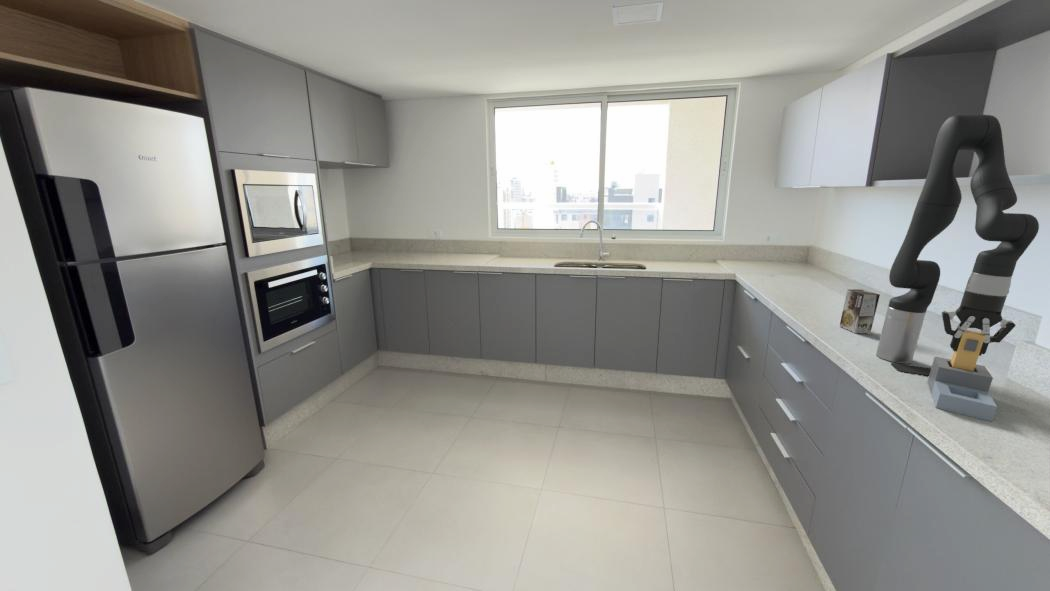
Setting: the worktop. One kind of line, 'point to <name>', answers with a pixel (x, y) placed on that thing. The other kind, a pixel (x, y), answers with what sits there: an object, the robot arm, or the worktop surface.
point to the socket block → (961, 389)
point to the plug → (968, 350)
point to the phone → (911, 369)
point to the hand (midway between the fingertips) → (966, 352)
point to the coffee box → (859, 310)
